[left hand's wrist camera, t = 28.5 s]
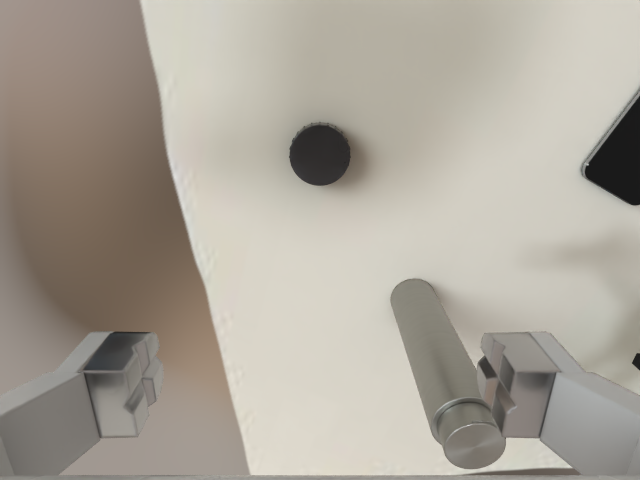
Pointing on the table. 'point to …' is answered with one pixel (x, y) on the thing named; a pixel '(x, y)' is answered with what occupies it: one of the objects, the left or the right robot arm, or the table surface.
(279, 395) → the table surface
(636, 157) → the smartphone
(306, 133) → the lid
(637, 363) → the right robot arm
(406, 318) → the jar
